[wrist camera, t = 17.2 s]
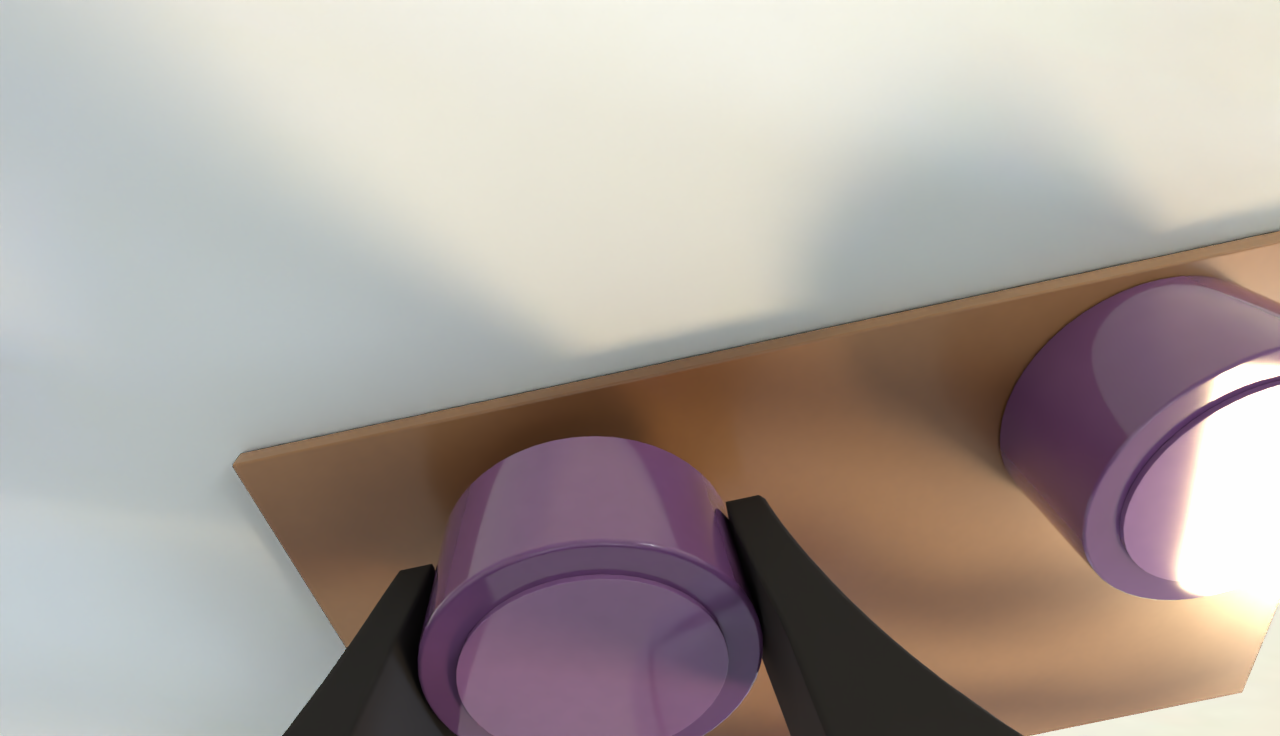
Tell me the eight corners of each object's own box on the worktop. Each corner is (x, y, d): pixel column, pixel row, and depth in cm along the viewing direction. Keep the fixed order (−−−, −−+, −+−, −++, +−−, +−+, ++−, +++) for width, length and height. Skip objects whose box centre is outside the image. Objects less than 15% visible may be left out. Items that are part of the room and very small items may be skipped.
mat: (1230, 680, 19) (1243, 693, 19) (473, 834, 20) (472, 850, 19) (1417, 199, 12) (1443, 206, 12) (239, 452, 13) (229, 465, 12)
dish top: (1234, 478, 15) (1360, 571, 12) (989, 529, 15) (1068, 631, 12) (1309, 245, 12) (1486, 307, 10) (1009, 309, 12) (1113, 386, 10)
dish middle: (746, 616, 14) (781, 742, 12) (492, 669, 14) (478, 804, 12) (709, 404, 11) (746, 510, 9) (398, 470, 12) (355, 593, 9)
